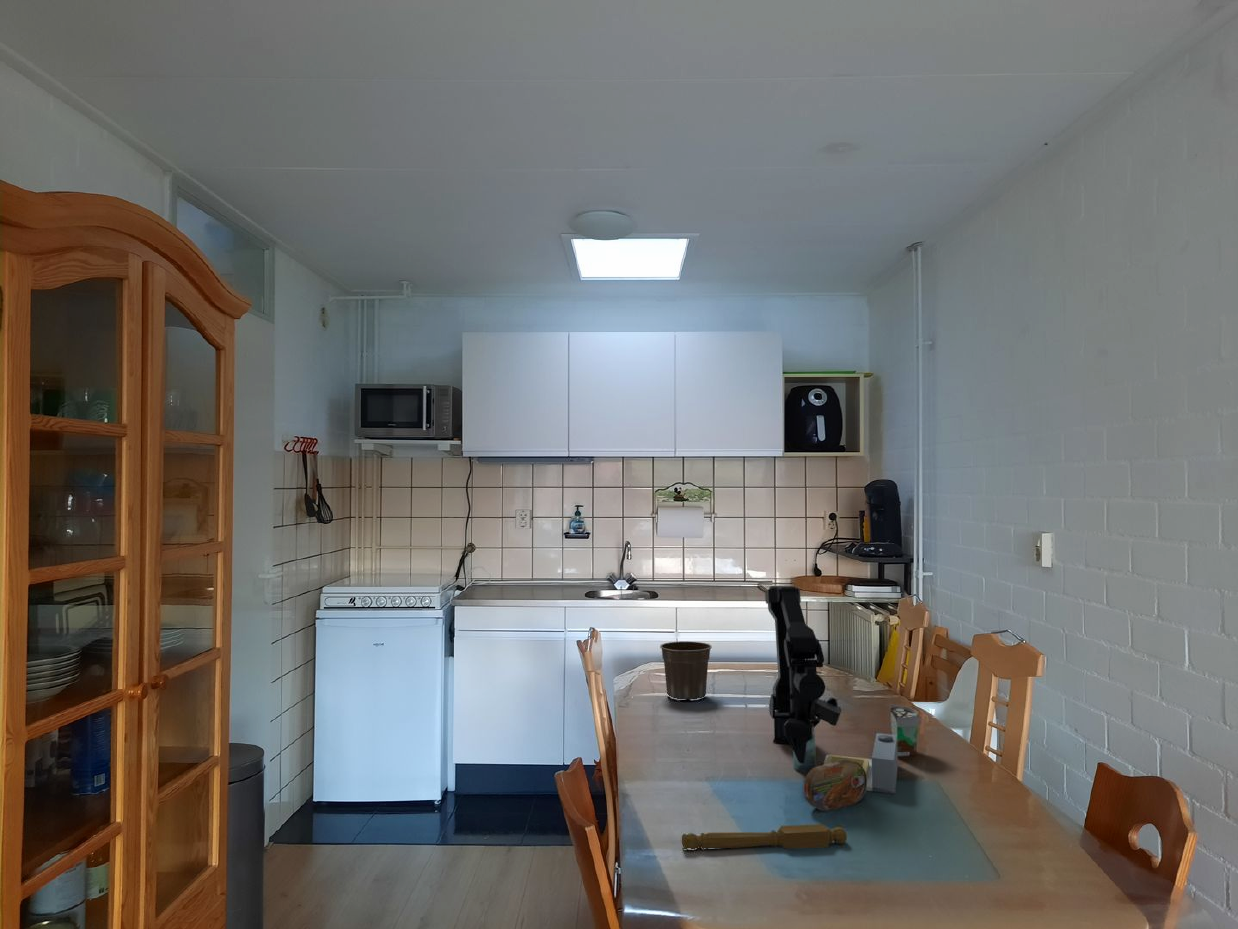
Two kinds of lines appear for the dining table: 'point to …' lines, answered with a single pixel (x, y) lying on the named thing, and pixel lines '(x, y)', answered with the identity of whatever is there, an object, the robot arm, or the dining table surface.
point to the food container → (904, 730)
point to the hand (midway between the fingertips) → (804, 756)
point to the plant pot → (686, 668)
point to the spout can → (806, 758)
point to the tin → (835, 785)
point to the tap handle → (770, 838)
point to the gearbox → (877, 764)
